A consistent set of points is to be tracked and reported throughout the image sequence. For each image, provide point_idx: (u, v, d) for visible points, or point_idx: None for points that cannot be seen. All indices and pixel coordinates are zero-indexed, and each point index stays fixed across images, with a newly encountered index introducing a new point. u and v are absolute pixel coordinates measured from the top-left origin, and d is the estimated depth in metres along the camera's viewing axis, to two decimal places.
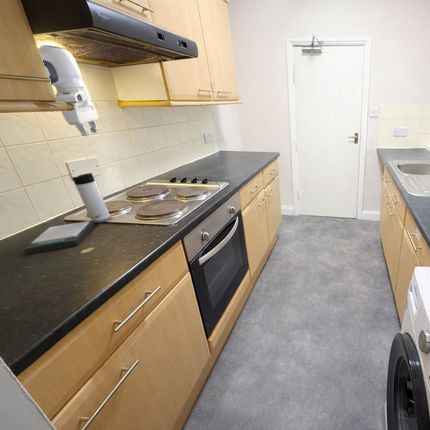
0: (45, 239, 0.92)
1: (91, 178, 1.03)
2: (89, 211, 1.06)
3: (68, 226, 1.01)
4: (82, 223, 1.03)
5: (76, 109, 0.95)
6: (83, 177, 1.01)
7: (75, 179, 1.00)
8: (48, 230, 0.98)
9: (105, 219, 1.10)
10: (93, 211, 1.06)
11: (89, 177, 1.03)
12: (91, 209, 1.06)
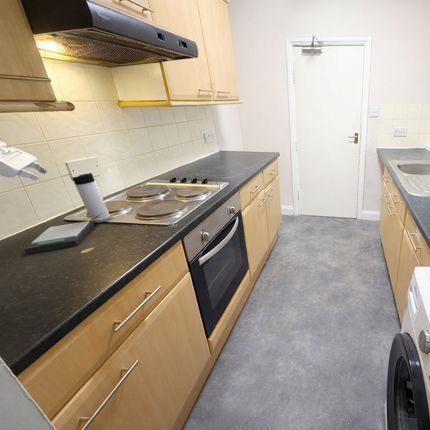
0: (45, 239, 0.92)
1: (91, 178, 1.03)
2: (89, 211, 1.06)
3: (68, 226, 1.01)
4: (82, 223, 1.03)
5: None
6: (83, 177, 1.01)
7: (75, 179, 1.00)
8: (48, 230, 0.98)
9: (105, 219, 1.10)
10: (93, 211, 1.06)
11: (89, 177, 1.03)
12: (91, 209, 1.06)
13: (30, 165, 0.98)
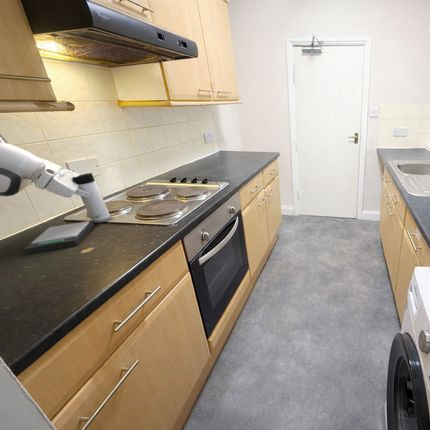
0: (45, 239, 0.92)
1: (91, 178, 1.03)
2: (89, 211, 1.06)
3: (68, 226, 1.01)
4: (82, 223, 1.03)
5: (59, 181, 0.93)
6: (83, 177, 1.01)
7: (75, 179, 1.00)
8: (48, 230, 0.98)
9: (105, 219, 1.10)
10: (93, 211, 1.06)
11: (89, 177, 1.03)
12: (91, 209, 1.06)
13: None
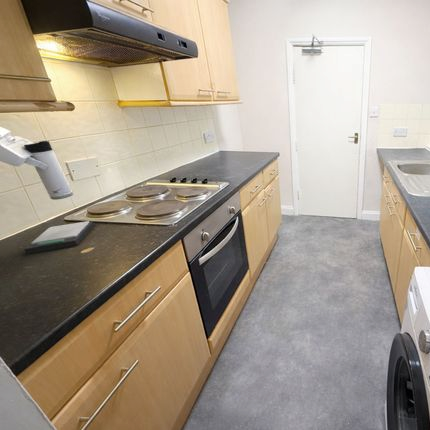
0: (45, 239, 0.92)
1: (47, 146, 0.89)
2: (46, 185, 0.92)
3: (68, 226, 1.01)
4: (82, 223, 1.03)
5: (4, 146, 0.79)
6: (37, 144, 0.87)
7: (27, 146, 0.86)
8: (48, 230, 0.98)
9: (66, 195, 0.96)
10: (51, 185, 0.92)
11: (45, 145, 0.89)
12: (48, 183, 0.92)
13: None
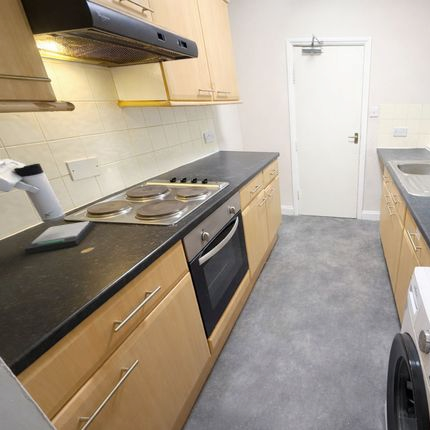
0: (45, 239, 0.92)
1: (38, 169, 0.87)
2: (37, 208, 0.90)
3: (68, 226, 1.01)
4: (82, 223, 1.03)
5: None
6: (27, 168, 0.85)
7: (17, 170, 0.84)
8: (48, 230, 0.98)
9: (58, 218, 0.94)
10: (42, 208, 0.90)
11: (35, 168, 0.87)
12: (39, 206, 0.90)
13: None
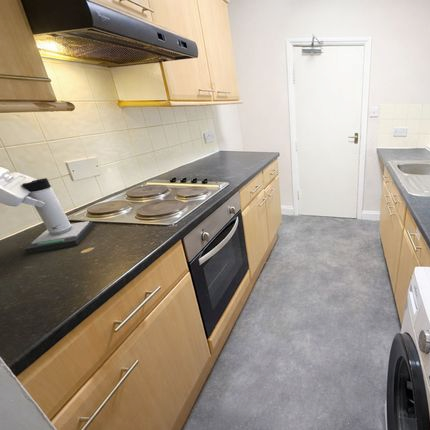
0: (45, 239, 0.92)
1: (45, 184, 0.90)
2: (45, 222, 0.92)
3: None
4: (82, 223, 1.03)
5: (1, 188, 0.79)
6: (35, 183, 0.87)
7: (25, 185, 0.87)
8: None
9: (65, 231, 0.96)
10: (49, 222, 0.93)
11: (43, 183, 0.89)
12: (47, 219, 0.92)
13: None
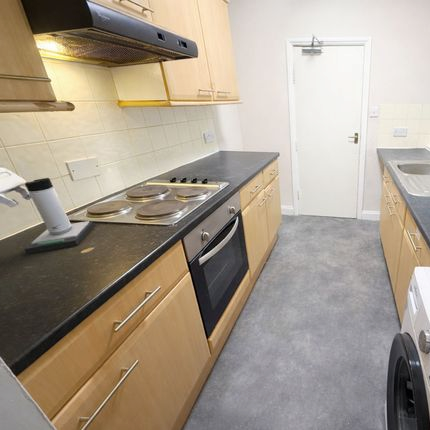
0: (45, 239, 0.92)
1: (48, 184, 0.90)
2: (45, 221, 0.92)
3: None
4: (82, 223, 1.03)
5: None
6: (37, 183, 0.87)
7: (28, 185, 0.86)
8: None
9: (65, 231, 0.96)
10: (50, 222, 0.93)
11: (45, 183, 0.89)
12: (47, 219, 0.92)
13: (15, 189, 0.88)
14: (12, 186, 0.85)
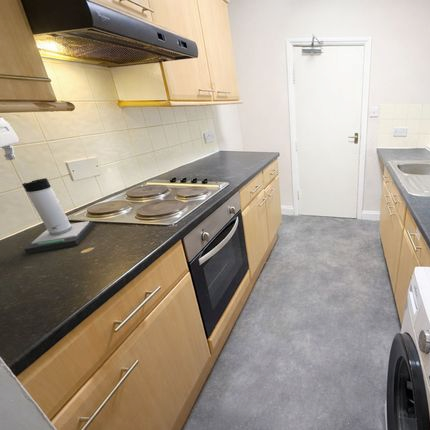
0: (45, 239, 0.92)
1: (45, 184, 0.90)
2: (44, 222, 0.92)
3: None
4: (82, 223, 1.03)
5: None
6: (34, 183, 0.87)
7: (25, 185, 0.87)
8: None
9: (64, 231, 0.96)
10: (49, 222, 0.93)
11: (42, 183, 0.89)
12: (46, 219, 0.92)
13: None
14: (1, 145, 0.82)
